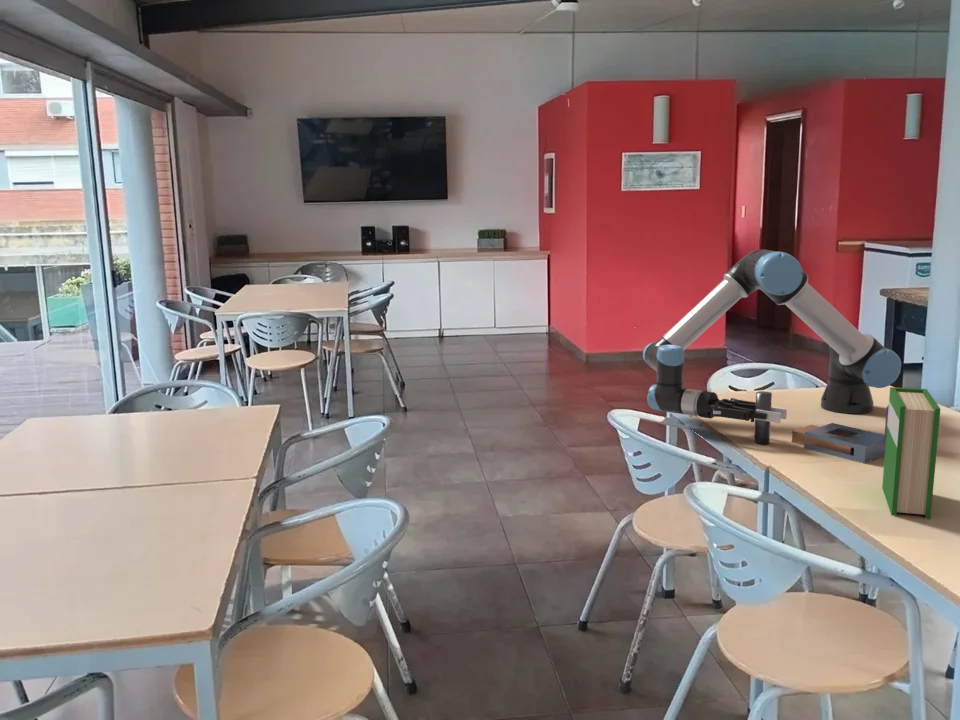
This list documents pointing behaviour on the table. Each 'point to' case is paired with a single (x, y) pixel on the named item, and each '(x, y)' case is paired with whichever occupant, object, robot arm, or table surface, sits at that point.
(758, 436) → the pin
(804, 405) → the table surface
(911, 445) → the hardback book
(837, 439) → the orange grey flat block
